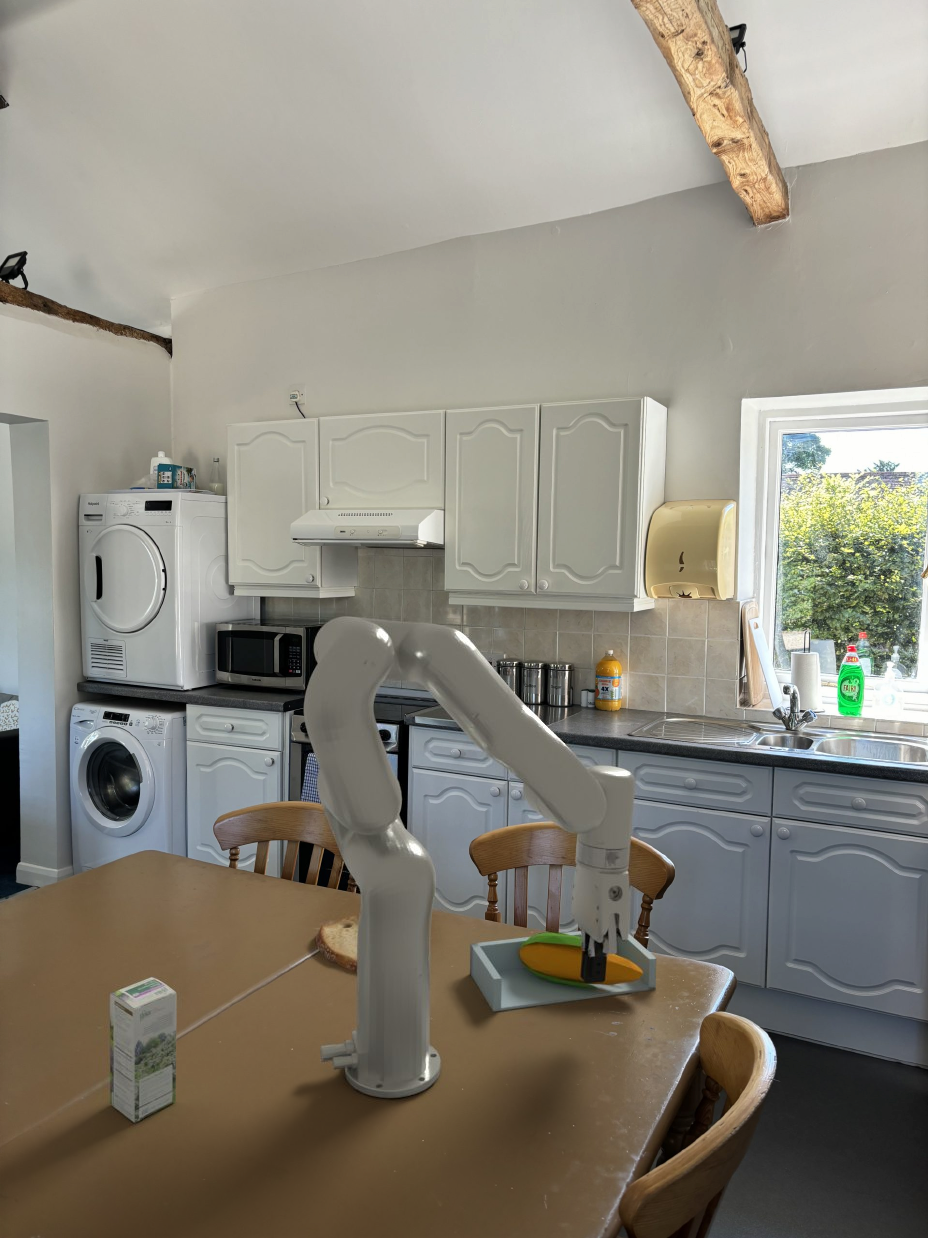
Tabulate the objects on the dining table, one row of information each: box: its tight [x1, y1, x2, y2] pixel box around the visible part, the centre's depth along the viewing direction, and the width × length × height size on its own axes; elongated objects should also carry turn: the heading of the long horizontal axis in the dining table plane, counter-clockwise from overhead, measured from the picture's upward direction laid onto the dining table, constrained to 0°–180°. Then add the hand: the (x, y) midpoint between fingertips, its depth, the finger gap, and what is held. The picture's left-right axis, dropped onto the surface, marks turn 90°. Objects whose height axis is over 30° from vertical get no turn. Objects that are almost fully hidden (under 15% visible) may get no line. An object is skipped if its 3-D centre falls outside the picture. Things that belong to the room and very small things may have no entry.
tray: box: [469, 930, 657, 1013], centre depth 139 cm, size 27×12×5 cm, turn 106°
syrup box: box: [109, 977, 178, 1124], centre depth 106 cm, size 6×6×14 cm
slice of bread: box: [315, 914, 360, 973], centre depth 149 cm, size 18×18×4 cm
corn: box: [519, 931, 643, 989], centre depth 137 cm, size 7×8×20 cm
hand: (592, 980), depth 124 cm, fingers closed
